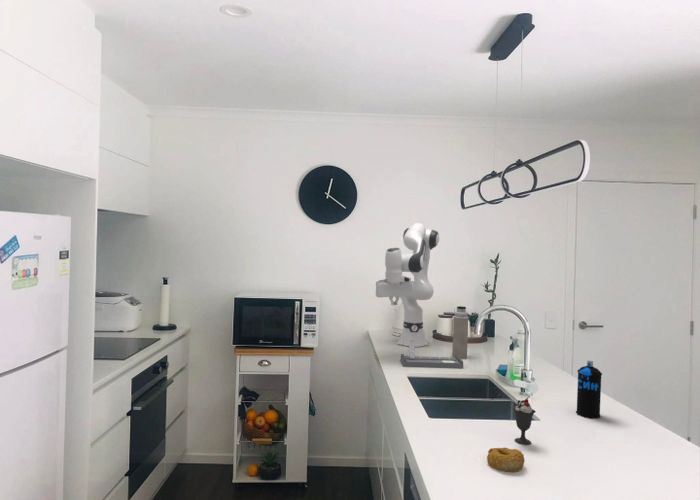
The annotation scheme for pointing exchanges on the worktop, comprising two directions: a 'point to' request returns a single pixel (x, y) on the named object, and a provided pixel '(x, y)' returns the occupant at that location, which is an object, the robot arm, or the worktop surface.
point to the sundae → (523, 419)
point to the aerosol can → (589, 391)
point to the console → (432, 362)
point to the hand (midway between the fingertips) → (394, 305)
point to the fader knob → (412, 349)
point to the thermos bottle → (460, 333)
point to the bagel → (505, 459)
